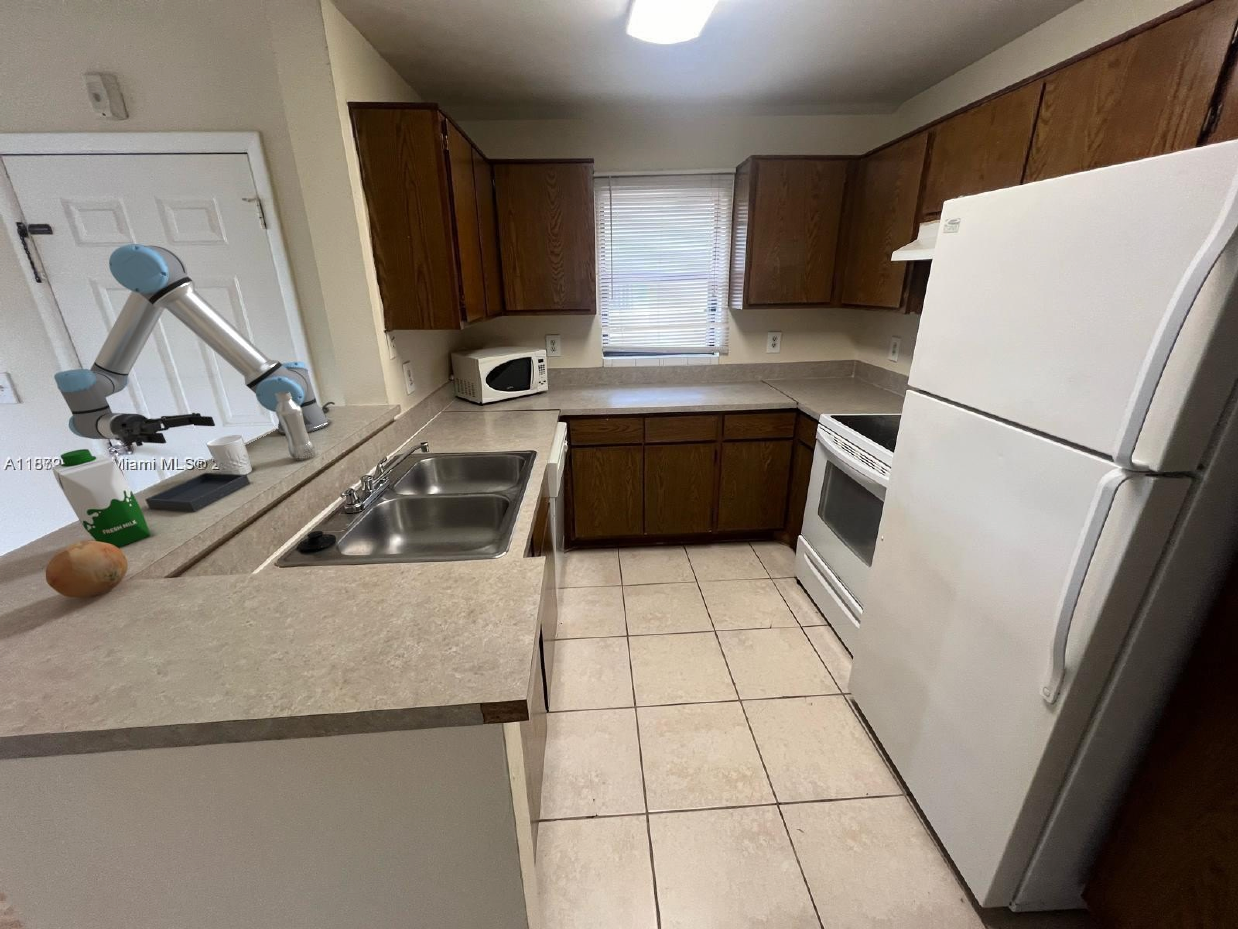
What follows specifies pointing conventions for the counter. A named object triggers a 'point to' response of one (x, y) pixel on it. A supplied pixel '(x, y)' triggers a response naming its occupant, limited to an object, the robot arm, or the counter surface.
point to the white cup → (230, 454)
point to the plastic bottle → (294, 426)
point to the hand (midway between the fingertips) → (189, 429)
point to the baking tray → (197, 492)
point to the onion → (86, 569)
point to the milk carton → (101, 498)
